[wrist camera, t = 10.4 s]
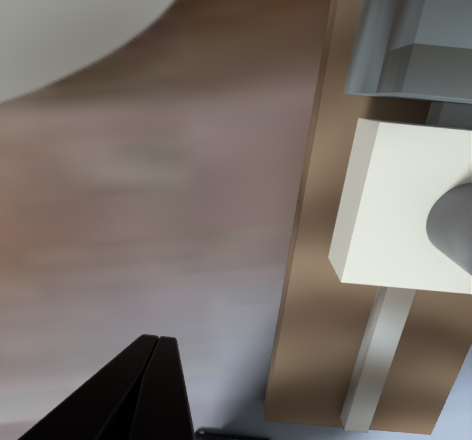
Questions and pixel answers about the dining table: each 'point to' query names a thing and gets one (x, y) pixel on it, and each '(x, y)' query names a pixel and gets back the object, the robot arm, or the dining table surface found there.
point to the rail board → (324, 218)
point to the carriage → (406, 208)
